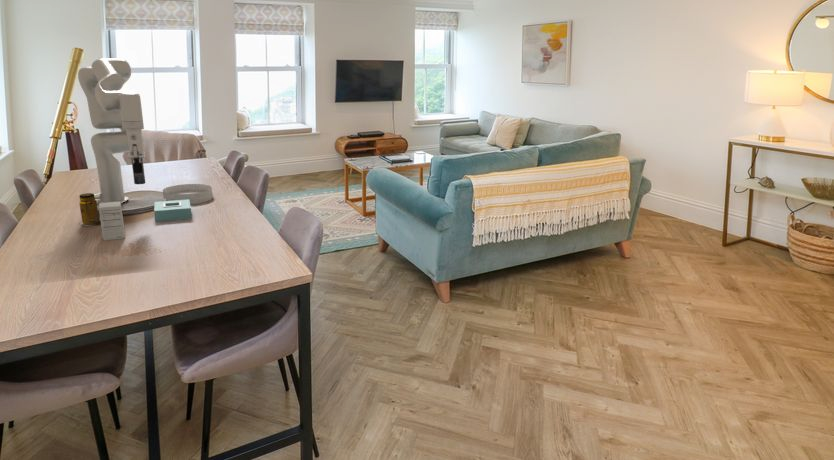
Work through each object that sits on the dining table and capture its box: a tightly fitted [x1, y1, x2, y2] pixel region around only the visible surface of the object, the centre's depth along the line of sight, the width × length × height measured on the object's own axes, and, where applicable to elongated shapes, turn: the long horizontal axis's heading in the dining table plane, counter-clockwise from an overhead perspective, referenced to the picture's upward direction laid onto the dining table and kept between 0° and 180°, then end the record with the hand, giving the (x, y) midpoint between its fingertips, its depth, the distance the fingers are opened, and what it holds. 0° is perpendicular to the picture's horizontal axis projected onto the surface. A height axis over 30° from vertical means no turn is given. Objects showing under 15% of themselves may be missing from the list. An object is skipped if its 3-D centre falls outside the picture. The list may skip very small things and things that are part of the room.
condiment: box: [78, 192, 101, 227], centre depth 236 cm, size 7×8×12 cm
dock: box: [153, 199, 193, 222], centre depth 250 cm, size 14×16×5 cm
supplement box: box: [98, 202, 126, 241], centre depth 219 cm, size 7×7×13 cm
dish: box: [162, 183, 214, 205], centre depth 278 cm, size 22×22×5 cm
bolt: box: [127, 152, 147, 185], centre depth 233 cm, size 6×6×12 cm
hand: (138, 171), depth 234 cm, fingers closed on bolt, 4 cm apart
